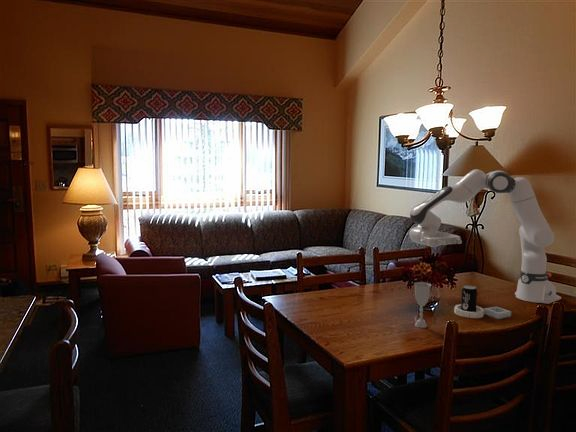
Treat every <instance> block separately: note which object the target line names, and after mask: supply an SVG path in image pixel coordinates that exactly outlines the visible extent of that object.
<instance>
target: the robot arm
mask: <svg viewBox="0 0 576 432" xmlns="http://www.w3.org/2000/svg"><path fill="white" fill-rule="evenodd" d="M484 189H489V190H490V191H491V192H493V193H496V194H508V196H509V198H510V202H511V204H512V208H513V210H514V212H515V216H516V218H517V219H518V221H519V222H520V227H519V229H518V235H519V239H520V241H519V242H520V249H521V268H520V271H519V279H518V282H517V286H516V291H515V292H514V295H515V298H517V299H519V300H522V301H525V302H530V303H539V304H540V303H541V304H553V303H554V302H556V301H560V300H561V299H562V296H560V295H558V294H557V287H556V286H555V285H554V284H553V283H551V282H550V280H549V278H551V277H552V273H550V272H547V271H546V270H547V263H548V262H547V261H548V258H547V254H546V249H545V248H547V247H549V246H552V244H553V243H554V242H555V233H554V232H553V230H552V228H551V227H550V225H549V223H548V221H547V220H546V217H545V216H544V214H543V212H542V210H541V208H540V205H539V203H538V200H537V197H536V194H535V191H534V189H533V187H532V185H531V183H530V181H529V180H528V179H527V178H526V177H521V176H517V177H515V178H513V177H512V176H510V175H509V174H508V173H507V172H505V171H503V170H498V169H497V170H491V171H489V172H484V171H483V170H481V169H477V168H476V169H472V170H470V171H469V172H468V173H467V174H465V175H464V176H463V177H461V178H460V179H459V180H458V181H457V182H456V183H454V184H452V185H449V186H444V187H442V188H441V189H439V190H438V191H436V192H435V193H434V194H432V195H431V196H429V197H428V198H427V199H425V200H424V201H423V202H421V203H419V204H418V205H416V206H413V208H411V211H410V215H409V218H410V221H411V222H413V223H415V224H416V225H417V226H415V227H412V228H410V229H409V233H408V234H409V235H408V236H409V238H410V240H411V241H412V242H413V243H415V244H419V245H422V246H424V245H425V246H427V247H431V248H437V247H440V246H447V245H457V244H458V245H461V244H462V243H463V241H462V238H461V236H460V235H457V234H453V233H449V232H447V231H440V229H441V226H442V220H441V218H440V217H439V216H437V215H436V214H435V213H434V212H432V210H433V209H434V208H435V207H436V206H438V205H440V204H441V203H442V202H445V201H450V202H455V203H457V204H458V203H459V204H464V203H467V202H469V201H470V200H471V199H473V198H474V197H475V196H476V195H477V194H478V193H479V192H481V191H483V190H484Z"/></svg>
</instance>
